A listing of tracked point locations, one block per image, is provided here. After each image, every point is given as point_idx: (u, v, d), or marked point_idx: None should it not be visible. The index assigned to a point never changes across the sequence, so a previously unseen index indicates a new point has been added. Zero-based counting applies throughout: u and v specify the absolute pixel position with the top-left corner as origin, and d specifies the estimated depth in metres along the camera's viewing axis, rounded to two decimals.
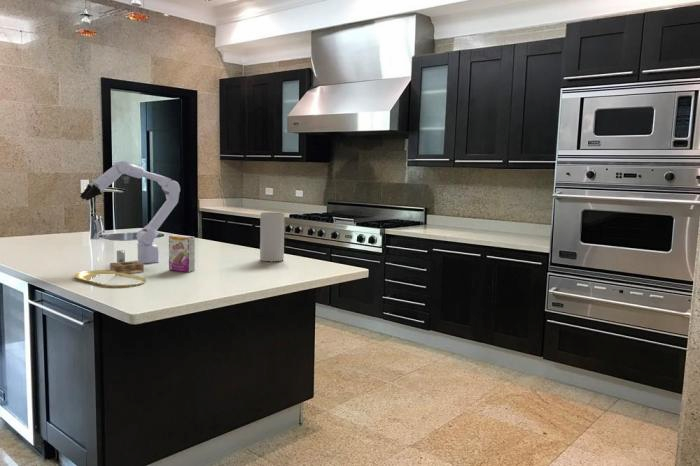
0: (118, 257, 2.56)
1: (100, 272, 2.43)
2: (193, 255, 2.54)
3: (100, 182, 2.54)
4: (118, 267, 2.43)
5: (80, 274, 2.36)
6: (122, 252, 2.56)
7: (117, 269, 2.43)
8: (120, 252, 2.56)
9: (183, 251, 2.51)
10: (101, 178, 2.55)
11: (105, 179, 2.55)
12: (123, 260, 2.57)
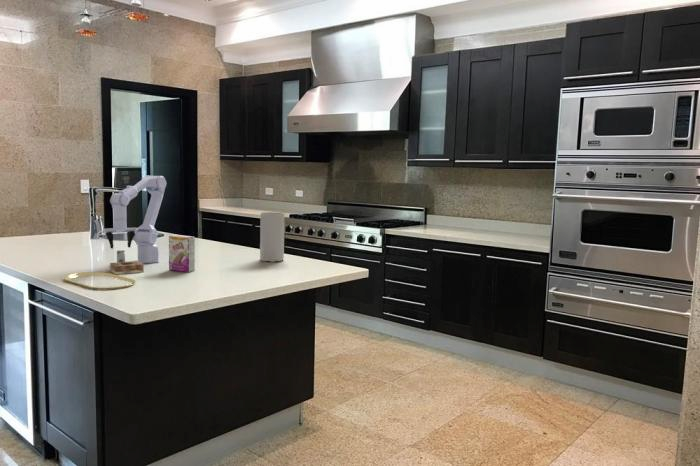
0: (118, 257, 2.56)
1: (92, 274, 2.40)
2: (193, 255, 2.54)
3: (126, 226, 2.56)
4: (118, 267, 2.43)
5: (71, 276, 2.33)
6: (122, 252, 2.56)
7: (117, 269, 2.43)
8: (120, 252, 2.56)
9: (183, 251, 2.51)
10: (125, 223, 2.55)
11: (126, 220, 2.56)
12: (123, 260, 2.57)
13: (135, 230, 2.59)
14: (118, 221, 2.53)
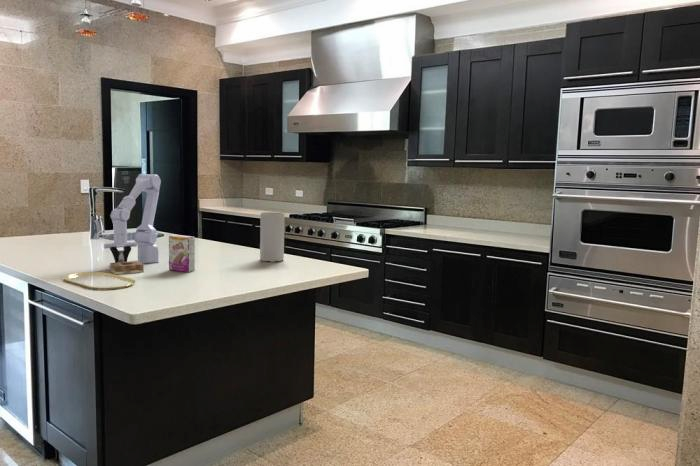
0: (118, 257, 2.56)
1: (92, 274, 2.40)
2: (193, 255, 2.54)
3: (126, 241, 2.57)
4: (118, 267, 2.43)
5: (71, 276, 2.33)
6: (122, 252, 2.56)
7: (117, 269, 2.43)
8: (120, 252, 2.56)
9: (183, 251, 2.51)
10: (125, 238, 2.56)
11: (126, 235, 2.57)
12: (123, 260, 2.57)
13: (135, 245, 2.60)
14: (118, 236, 2.53)
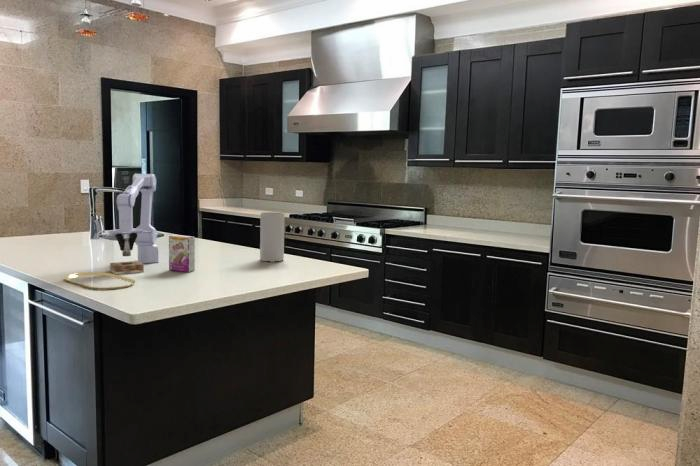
0: (124, 245, 2.47)
1: (93, 274, 2.40)
2: (193, 255, 2.54)
3: (132, 227, 2.48)
4: (118, 267, 2.43)
5: (72, 276, 2.34)
6: (128, 239, 2.47)
7: (117, 269, 2.43)
8: (126, 239, 2.47)
9: (183, 251, 2.51)
10: (131, 224, 2.47)
11: (132, 222, 2.48)
12: (129, 248, 2.48)
13: (141, 232, 2.51)
14: (124, 223, 2.45)
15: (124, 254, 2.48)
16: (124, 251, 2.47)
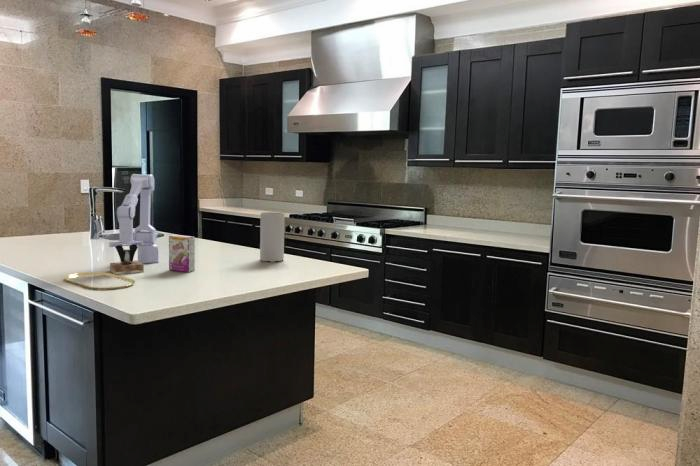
0: (124, 256, 2.48)
1: (93, 274, 2.40)
2: (193, 255, 2.54)
3: (132, 239, 2.49)
4: (118, 267, 2.43)
5: (72, 276, 2.34)
6: (128, 251, 2.48)
7: (117, 269, 2.43)
8: (126, 251, 2.48)
9: (183, 251, 2.51)
10: (131, 236, 2.47)
11: (132, 233, 2.49)
12: (129, 259, 2.49)
13: (141, 243, 2.52)
14: (124, 234, 2.45)
15: None
16: (124, 263, 2.48)
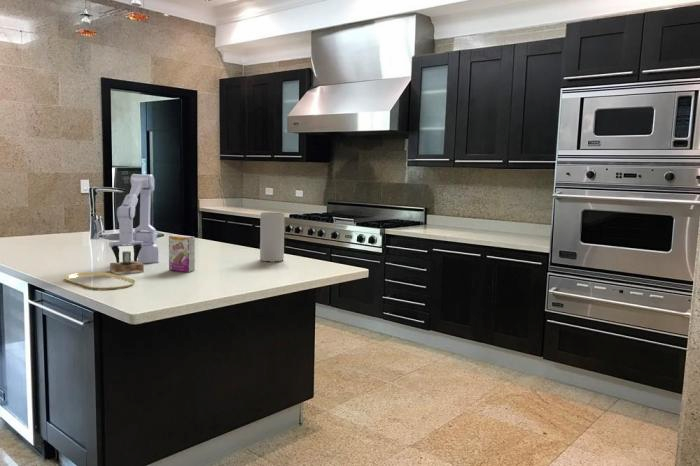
0: (124, 258, 2.48)
1: (93, 274, 2.40)
2: (193, 255, 2.54)
3: (132, 239, 2.49)
4: (118, 267, 2.43)
5: (72, 276, 2.34)
6: (128, 253, 2.48)
7: (117, 269, 2.43)
8: (126, 253, 2.48)
9: (183, 251, 2.51)
10: (131, 236, 2.47)
11: (132, 233, 2.49)
12: (129, 261, 2.49)
13: (141, 243, 2.52)
14: (124, 234, 2.45)
15: None
16: (124, 264, 2.48)
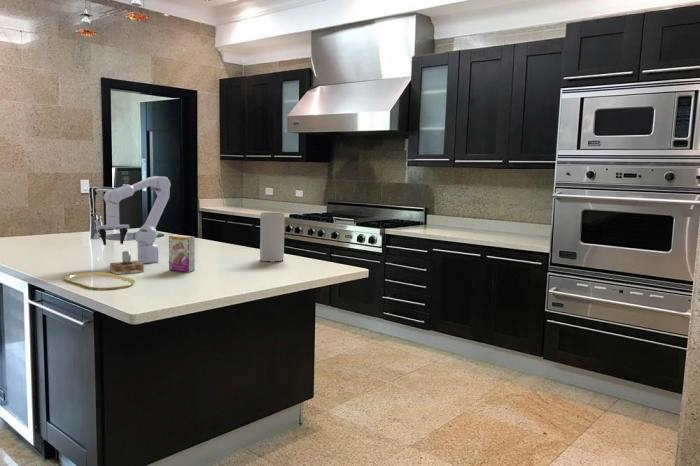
0: (124, 258, 2.48)
1: (93, 274, 2.40)
2: (193, 255, 2.54)
3: None
4: (118, 267, 2.43)
5: (72, 276, 2.34)
6: (128, 253, 2.48)
7: (117, 269, 2.43)
8: (126, 253, 2.48)
9: (183, 251, 2.51)
10: (117, 220, 2.58)
11: None
12: (129, 261, 2.49)
13: (128, 227, 2.63)
14: (111, 218, 2.56)
15: None
16: (124, 264, 2.48)
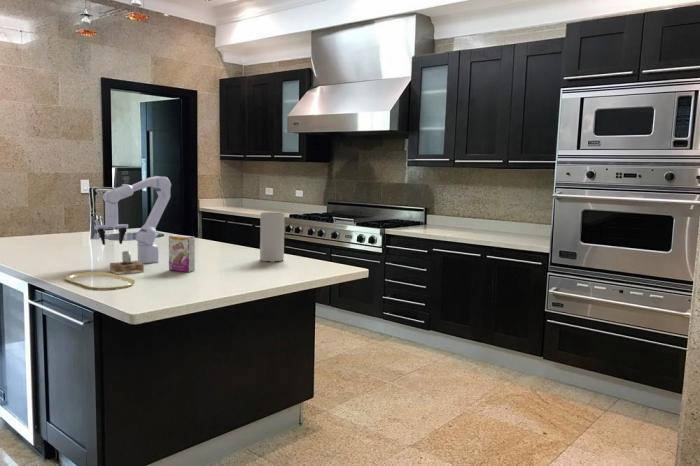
0: (124, 258, 2.48)
1: (94, 274, 2.40)
2: (193, 255, 2.54)
3: None
4: (118, 267, 2.43)
5: (73, 276, 2.34)
6: (128, 253, 2.48)
7: (117, 269, 2.43)
8: (126, 253, 2.48)
9: (183, 251, 2.51)
10: (116, 219, 2.59)
11: None
12: (129, 261, 2.49)
13: (127, 227, 2.63)
14: (110, 218, 2.57)
15: None
16: (124, 264, 2.48)
